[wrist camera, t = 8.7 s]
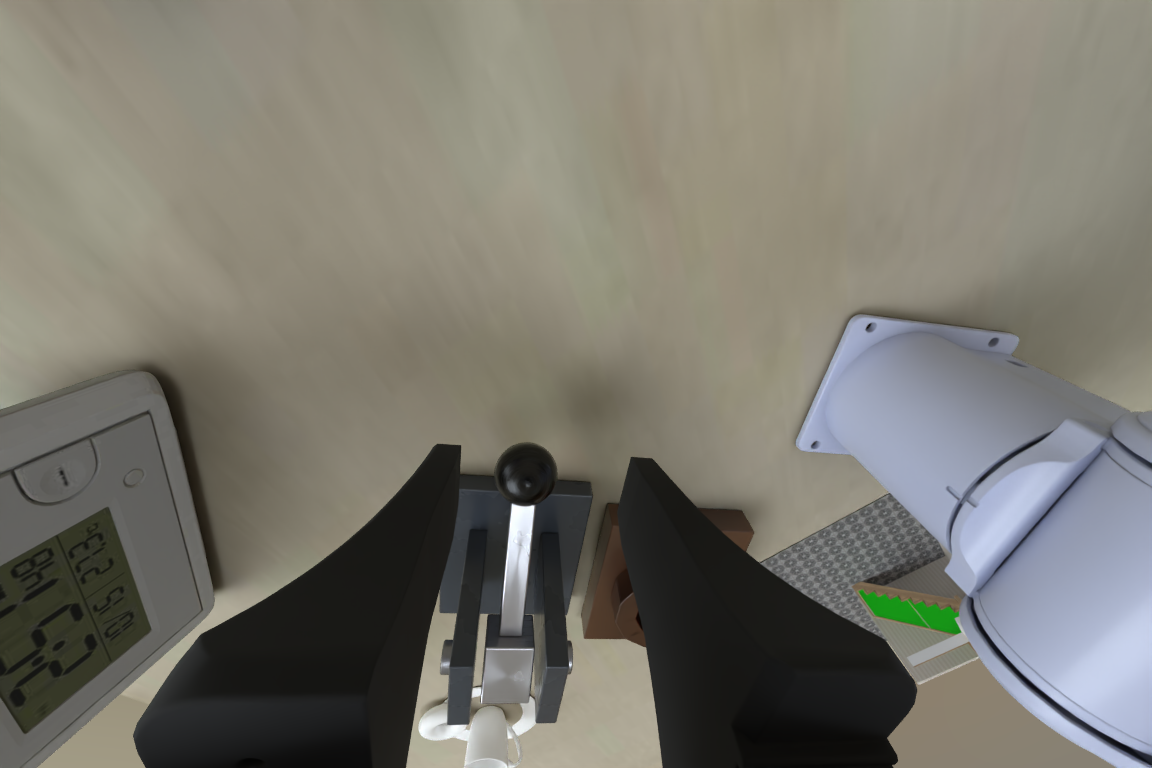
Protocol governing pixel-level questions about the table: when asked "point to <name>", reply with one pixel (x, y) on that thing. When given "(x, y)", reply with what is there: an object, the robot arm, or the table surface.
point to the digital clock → (90, 555)
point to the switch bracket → (480, 580)
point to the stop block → (610, 585)
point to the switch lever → (516, 575)
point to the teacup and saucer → (481, 733)
